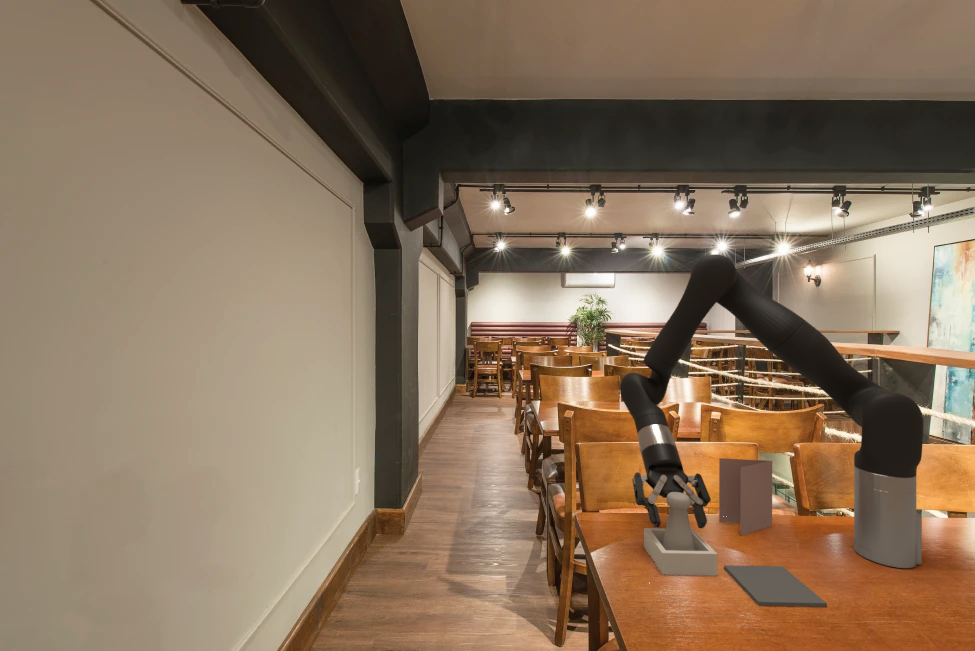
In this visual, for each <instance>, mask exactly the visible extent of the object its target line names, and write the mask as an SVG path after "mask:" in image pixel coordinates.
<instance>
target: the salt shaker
mask: <svg viewBox="0 0 975 651" xmlns="http://www.w3.org/2000/svg"><path fill="white" fill-rule="evenodd" d="M684 493H685V492H684ZM684 493H680V492H670V493H669V494H668V495H667V498H666V504H667V506H668V507H669V511H668V516H667V522H666V525H665V526H666V527H665V528H666V530H665V535H664V540H663V547H664V549H665V550H676V551H695V549H694V544H693V538H692V533H691V529H692V528H691V524H690V519H689V513H688V510H689V509H690V508H691V502H690V498H689V497H688V496H687V495H686V493H685V494H684Z"/></svg>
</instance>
